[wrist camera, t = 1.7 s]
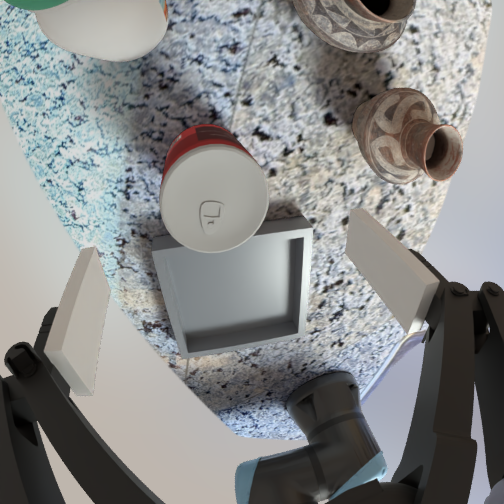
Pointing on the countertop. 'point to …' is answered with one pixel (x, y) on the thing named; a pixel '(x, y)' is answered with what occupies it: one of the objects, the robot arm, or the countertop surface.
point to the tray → (237, 289)
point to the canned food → (212, 190)
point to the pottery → (387, 93)
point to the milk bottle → (101, 25)
